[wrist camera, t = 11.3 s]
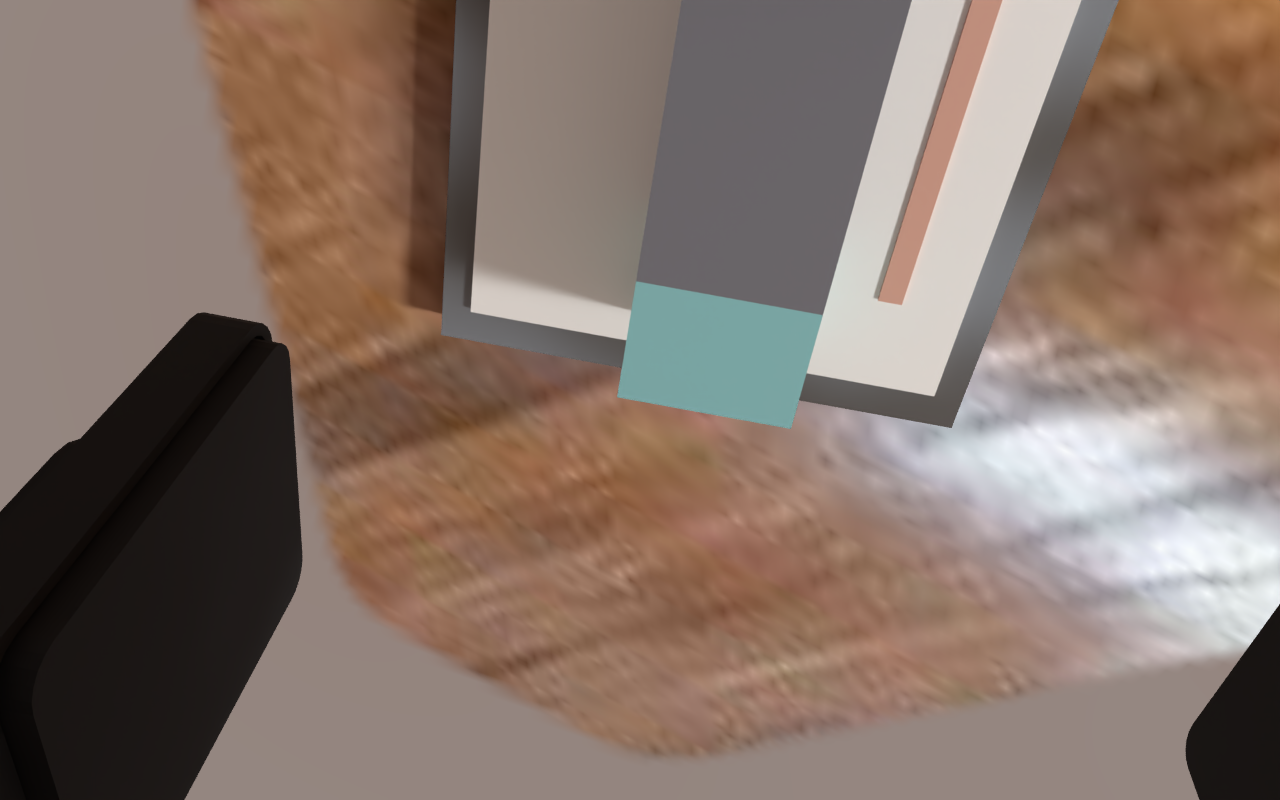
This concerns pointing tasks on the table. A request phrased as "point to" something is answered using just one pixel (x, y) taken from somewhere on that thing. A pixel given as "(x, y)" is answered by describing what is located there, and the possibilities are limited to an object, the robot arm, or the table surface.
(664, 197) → the teal-tipped grey bar
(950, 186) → the drawing board
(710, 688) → the table surface
